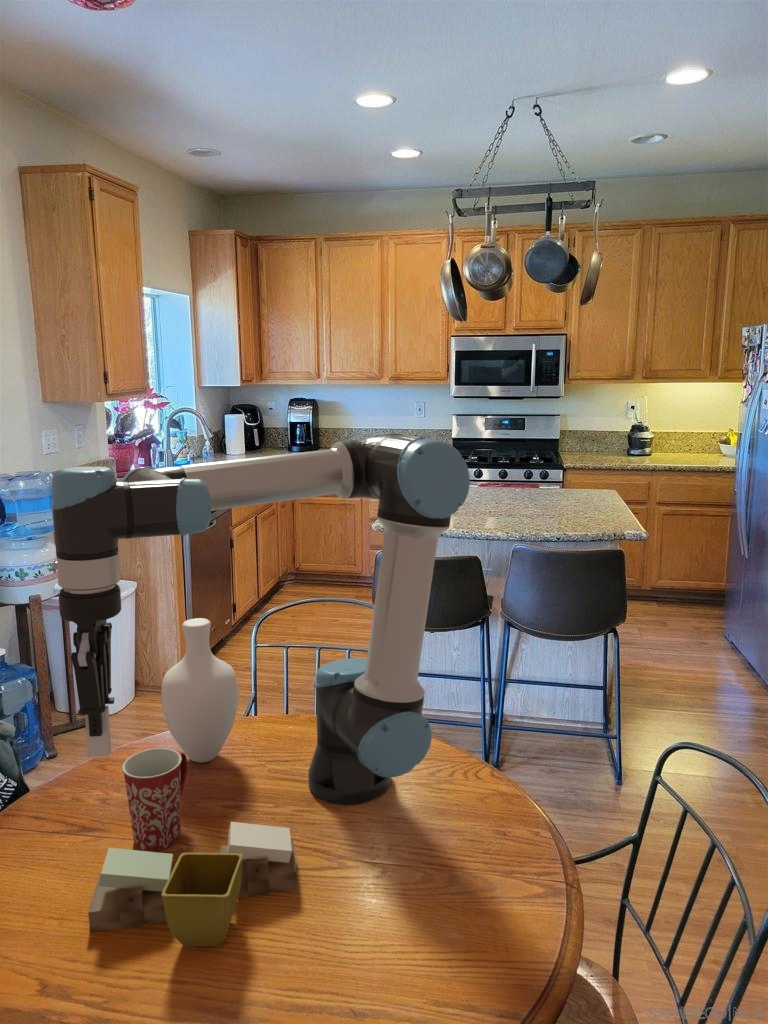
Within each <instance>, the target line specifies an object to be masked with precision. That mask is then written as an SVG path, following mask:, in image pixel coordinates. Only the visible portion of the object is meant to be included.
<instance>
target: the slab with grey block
mask: <svg viewBox="0 0 768 1024" xmlns="http://www.w3.org/2000/svg"><path fill="white" fill-rule="evenodd" d="M175 864H176V863H173V864H171V870H170V875H171V873H172V871H173V869H174V867H175ZM100 876H101V872H100V873H99V875H98V879H97V882H96V886H95V889H94V893H93V895H92V899H91V902H90V905H89V909H88V913H87V914H88V923H89V932H90V933H94V932H101V931H107V930H115V929H121V930H124V929H132V928H138V927H144V926H145V925H146V926H147V925H153V924H161V923H167V919H166V915H165V910H164V906H163V901H162V896H161V894H162V892H160V891H149V890H143V887H139V888H131V889H126V888H114V887H102V886H99V881H100Z"/></svg>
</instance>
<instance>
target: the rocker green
mask: <svg viewBox="0 0 768 1024" xmlns="http://www.w3.org/2000/svg"><path fill="white" fill-rule="evenodd" d="M107 849H108V850H107V852H106V856H105V858H104V862H103V865H102V869H101V872H100V873H101V876H100V881H99V886H102V887H114V888H126V889H131V888H139V887H143V890H149V891H160V892H162V891H163V889H164V887H165V885H166V883H167V881H168V879H169V877H170V870H171V865H172V862H173V856H174V854H173V853H170V852H169V853H167V852H158V851H143V850H136V849H126V848H116V847H108V848H107Z"/></svg>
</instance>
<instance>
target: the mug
mask: <svg viewBox="0 0 768 1024" xmlns="http://www.w3.org/2000/svg"><path fill="white" fill-rule="evenodd" d="M187 758H188V757H187V755H186V754H185V753H184V751H176V750H174V749H172V748H165V747H162V748H161V747H155V748H148V749H145V750H141V751H139V752H136V753H134V754H132V755H130V756H129V757H127V759H126V760H125V761H124V762H123V764H122V767H121V770H122V773H123V775H124V783H125V788H126V789H125V790H126V796H127V802H128V810H129V815H130V816H129V817H130V823H131V829H132V830H131V831H132V837H133V842H134V845H135V847H136V848H138V849H139V850H140V851H148V852H158V851H162V850H164V849H167V848H169V847H172V846H173V845H174V844H175V843H176V842H177V841H179V839H180V836H181V831H182V830H181V823H182V822H181V797H182V794H183V790H184V786H185V782H186V778H187V771H188V759H187Z"/></svg>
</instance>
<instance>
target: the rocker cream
mask: <svg viewBox="0 0 768 1024" xmlns="http://www.w3.org/2000/svg"><path fill="white" fill-rule="evenodd" d="M290 829H291V828H290V827H283V826H272V825H267V824H266V825H264V824H256V823H245V822H238V821H237V822H236V821H230V824H229V829H228V833H227V835H228V836H227V845H228V853H239V854H242V855H243V858H245V859H262V858H268V861H276V862H286V863H289V861H290V857H291V852H292V848H291V838H292V837H291V830H290Z"/></svg>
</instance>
